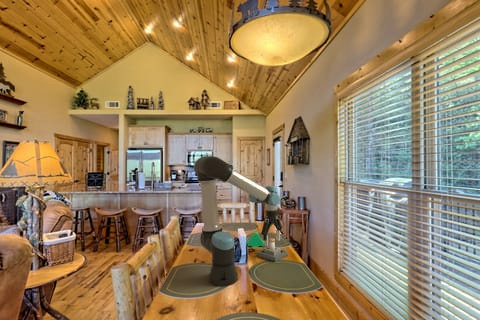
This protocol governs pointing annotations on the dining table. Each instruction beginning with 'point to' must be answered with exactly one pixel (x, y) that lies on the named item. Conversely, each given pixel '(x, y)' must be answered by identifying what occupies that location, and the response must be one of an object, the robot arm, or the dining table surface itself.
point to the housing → (272, 254)
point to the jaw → (272, 244)
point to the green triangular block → (255, 240)
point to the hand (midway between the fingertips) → (272, 242)
